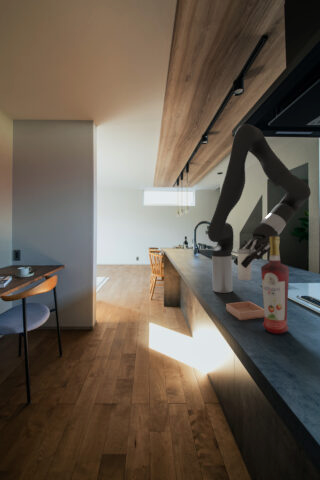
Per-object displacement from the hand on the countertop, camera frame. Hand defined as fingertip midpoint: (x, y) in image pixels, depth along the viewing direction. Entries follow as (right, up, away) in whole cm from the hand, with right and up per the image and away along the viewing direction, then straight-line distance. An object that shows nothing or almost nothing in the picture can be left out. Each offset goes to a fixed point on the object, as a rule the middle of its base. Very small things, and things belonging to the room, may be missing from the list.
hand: (239, 264), depth 79 cm
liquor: (+6, -18, -12) cm, 23 cm away
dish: (+2, -18, +1) cm, 18 cm away
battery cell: (+2, -5, +1) cm, 5 cm away
